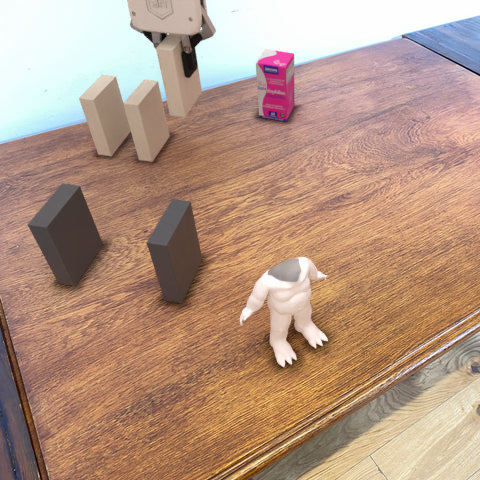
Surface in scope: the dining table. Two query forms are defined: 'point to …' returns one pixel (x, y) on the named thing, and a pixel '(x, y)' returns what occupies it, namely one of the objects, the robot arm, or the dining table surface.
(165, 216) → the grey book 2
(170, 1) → the robot arm
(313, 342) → the toy creature
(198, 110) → the dining table surface
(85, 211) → the dark grey block
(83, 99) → the white book
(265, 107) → the supplement box
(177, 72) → the white book
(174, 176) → the dining table surface
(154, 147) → the white book
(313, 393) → the dining table surface
